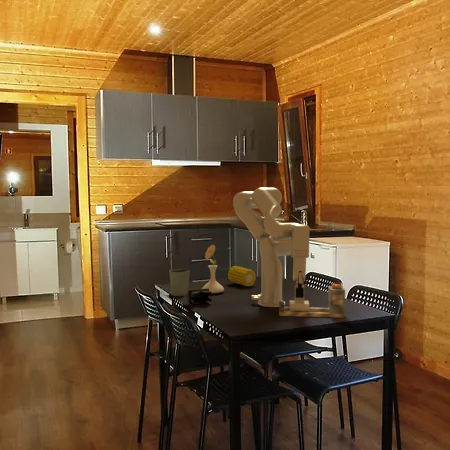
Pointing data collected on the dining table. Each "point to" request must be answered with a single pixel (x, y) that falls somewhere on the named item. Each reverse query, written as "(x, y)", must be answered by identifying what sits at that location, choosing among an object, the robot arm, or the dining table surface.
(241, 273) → the food
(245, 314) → the dining table surface
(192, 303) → the end cap
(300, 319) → the dining table surface
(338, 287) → the button
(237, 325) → the dining table surface
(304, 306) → the carriage
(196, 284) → the dining table surface
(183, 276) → the green tapered cup
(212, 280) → the flower in vase
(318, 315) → the rail base
